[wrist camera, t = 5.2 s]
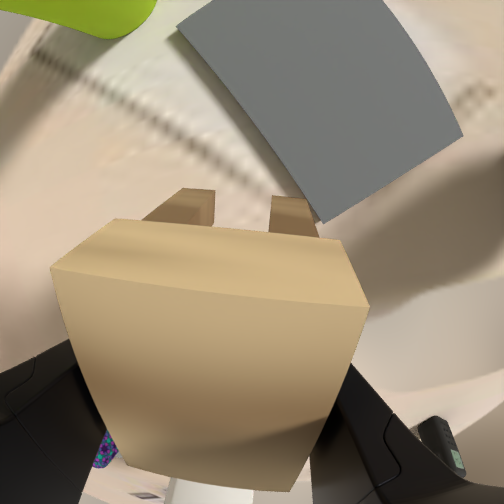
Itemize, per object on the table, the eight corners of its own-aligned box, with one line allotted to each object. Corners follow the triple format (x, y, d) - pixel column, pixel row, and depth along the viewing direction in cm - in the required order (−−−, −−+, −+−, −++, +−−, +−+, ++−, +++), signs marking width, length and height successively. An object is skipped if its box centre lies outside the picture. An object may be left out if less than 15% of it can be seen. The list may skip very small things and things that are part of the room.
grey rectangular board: (457, 134, 17) (463, 135, 16) (321, 220, 20) (323, 224, 19) (327, -51, 12) (329, -56, 11) (179, 29, 15) (175, 26, 15)
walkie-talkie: (448, 421, 29) (479, 511, 16) (428, 435, 30) (454, 524, 17) (434, 413, 28) (466, 513, 15) (412, 428, 30) (438, 527, 16)
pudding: (122, 422, 33) (109, 452, 28) (142, 461, 38) (134, 486, 33) (53, 400, 33) (38, 424, 29) (80, 441, 38) (69, 464, 34)
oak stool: (289, 347, 13) (289, 491, 7) (180, 334, 13) (127, 464, 7) (315, 191, 10) (369, 306, 4) (175, 179, 11) (49, 267, 4)
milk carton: (237, 448, 32) (220, 583, 15) (182, 432, 32) (147, 569, 14) (259, 421, 29) (244, 585, 12) (195, 403, 29) (154, 570, 11)
